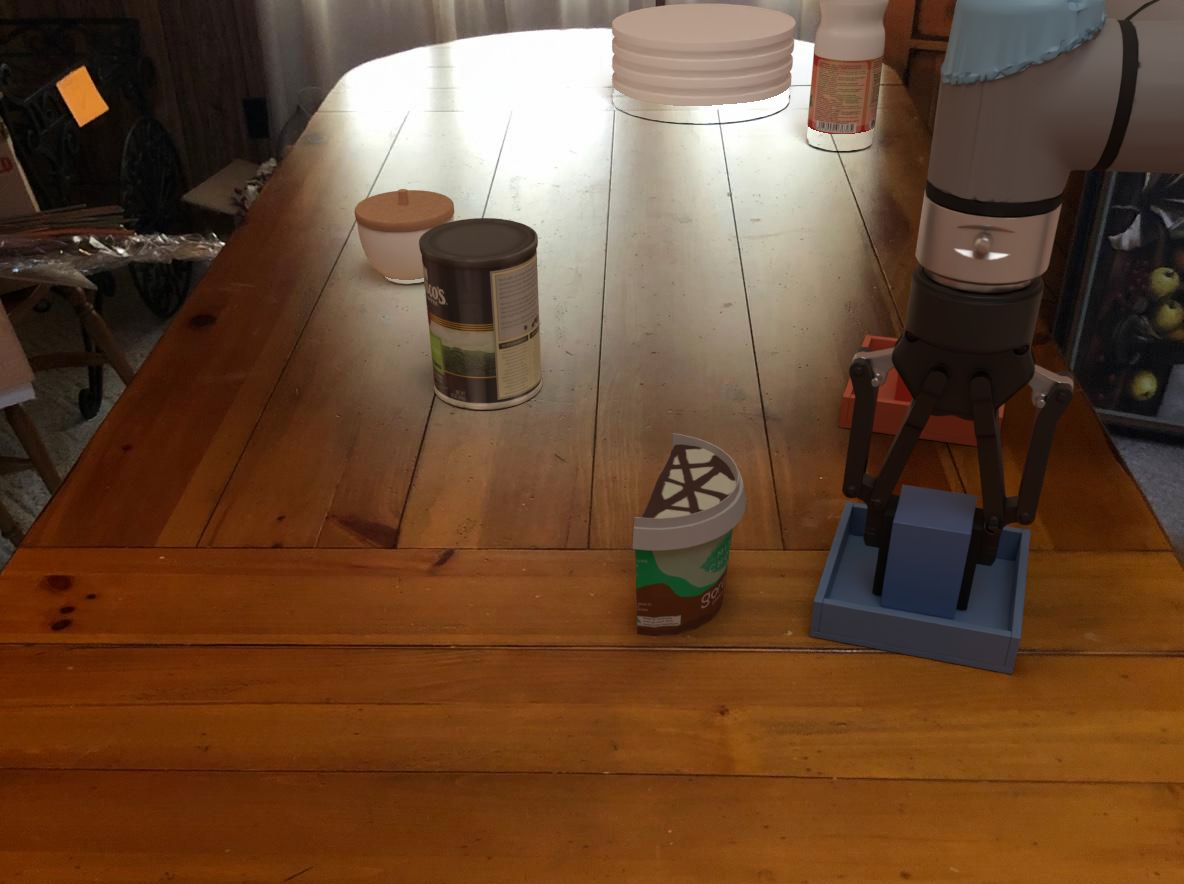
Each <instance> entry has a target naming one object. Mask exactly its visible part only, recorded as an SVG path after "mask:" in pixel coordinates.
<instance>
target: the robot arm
mask: <svg viewBox="0 0 1184 884" xmlns="http://www.w3.org/2000/svg"><path fill="white" fill-rule="evenodd" d="M936 103H937V104H936V111H935V117H934V118H935V119H934V125H933V133H932V140H931V147H930V155H929V163H928V169H927V176H926V178H927V179H926V185H925V189H924V193H923V200H922V208H921V215H920V220H919V227H918V234H917V241H916V248H915V258H916V260H917V262H918V265H917V266H916V267H915V268H914V269H913V270H912V276H911V281H910V288H909V295H908V301H907V308H906V313H905V314H906V316H905V322H904V327H903V332H902V334H901V335H900V336H899V338H897V339H898V340H897V342H896V343H895V346H894V348H889V349H883V350H878V351H872V350H871V349H870V348H868V347H862V346H861V347H858V348H857V349H856V352H855V353H854V356H853V357H852V361H851V363H850V367H849V369H848V373H849V379H850V378H851V382H852V386H853V390H854V394H855V402H854V409H853V417H852V424H851V429H850V431H849V439H848V446H847V452H846V460H845V467H844V475H843V482H842V488H841V489H842V491H841V492H842V494H843V495H844V496H845V498H847V499H859V501H860V500H861V501H862V502H863V503H864V504H866V505H867V517H866V524H865V532H864V538H863V539H864V543H865V546H870V547H876V548H879V551H878V558H877V564H876V571H875V577H874V584H873V590H872V593H875V594H881V595H882V589H883V583H884V577H885V570H886V564H887V557H888V551H889V544H890V538H891V532H892V525H893V520H894V516H895V512H896V509H897V505H898V501H899V497H900V494H899V495H898V494H893V492H894V491H895V489H896V486H897V484H898V482H899V480H900V478H901V476H902V474H903V471H904V470H905V467H906V466H907V463H908V461H909V459H910V457H911V455H912V453H913V451H914V449H915V447H916V445H917V443H918V441H919V439H920V438H919V437H920V434H921V432H922V431H923V430H924V428H925V426H926V424H927V422H928V420H929V418H930V415H933V416H949V415H954V416H956V417H959V418H961V419H964V420H969V421H974V431H975V437H976V441H977V446H976V448H977V449H976V450H977V459H978V470H979V479H980V490H981V498H982V501H981V502H982V507H977V506H976V509H975V515H974V521H973V527H972V533H971V539H970V544H969V548H968V553H967V558H966V563H965V568H964V573H963V578H962V583H961V588H960V593H959V598H958V603H957V608H960V609H966V610H967V607H968V602H969V597H970V592H971V588H972V583H973V578H974V573H975V568H976V564H980V565H986V566H992V564H993V563H994V562H995V560H996V555H997V551H998V546H999V542H1000V537H1001V533H1002V531H1003V528H1004V527H1005V526H1008V525H1010V524H1017V523H1018V524H1019V525H1022V526H1029V525H1032V524H1033V523H1034V522H1035V520H1036V516H1037V511H1038V507H1039V503H1040V498H1041V493H1042V490H1043V486H1044V485H1043V484H1044V481H1045V476H1046V471H1047V466H1048V463H1049V458H1050V454H1051V449H1052V444H1053V440H1054V435H1055V431H1056V426H1057V423H1058V422H1059V420H1060V419H1061V418H1062V416H1063V415H1064V413H1065V412H1066V410H1067V409H1068V407H1069V406H1070V404H1071V403H1072V401H1073V399H1074V386H1075V385H1074V384H1075V381H1074V380H1075V377H1074V375H1073V373H1072V372H1070V371H1067V370H1060V371H1058V372H1057V373H1055V372H1053V371H1051V370H1048V369H1047V368H1044V367H1043V366H1040V365H1038V364H1037V360H1036V356H1035V354H1034V351H1033V340H1034V336H1035V332H1036V331H1035V330H1036V326H1037V321H1038V317H1039V312H1040V308H1041V304H1042V303H1041V302H1042V298H1043V294H1044V289H1045V282H1044V280H1043V277H1042V275H1043V274H1044V273H1045V272H1047V270H1048V268H1049V266H1050V261H1051V256H1052V252H1053V247H1054V242H1055V238H1056V233H1057V229H1058V224H1059V219H1060V214H1061V210H1062V205H1063V201H1064V197H1065V190H1066V185H1067V183H1068V179H1069V176H1070V173H1071V172H1072V171H1088V172H1089V171H1090V172H1124V173H1146V174H1147V173H1148V174H1176V175H1177V174H1178V175H1184V0H956V2H955V6H954V12H953V17H952V22H951V26H950V32H949V37H948V41H947V46H946V51H945V55H944V61H943V63H942V64H941V66H940V81H939V88H938V96H937V102H936ZM892 368H895V369H896V371H897V372H898V374H899V376H900V377H901V379H902V381H903V382H904V384H905V386H906V387H907V389H908V391H909V392H910V394H911V396H912V397H913V398H912V401H911V403H910V406H909V408H908V410H907V412H906V415H905V417H904V419H903V421H902V423H901V425H900V427H899V430H898V432H897V434H896V435H894V438H893V441H892V443H891V445H890V446H889V449H888V451H887V453H886V455H885V458H884V460H883V461H882V464H881V466H880V468H879V471H878V473H877V474H876V476H873V475H871V474H869V473H867V469H868V463H869V456H870V449H871V443H872V438H873V437H872V436H873V432H872V431H873V424H874V418H875V411H876V404H877V398H878V391H879V387H880V386H882V385H883V384H884V383H885V382H886V379H887V376H888V371H889V370H891V369H892ZM1026 386H1029V387H1030V389H1031V395H1030V401H1031V404H1032V405H1033V407H1035V412H1034V417H1033V421H1032V426H1031V432H1030V437H1029V441H1028V446H1027V451H1026V455H1025V459H1024V464H1023V470H1022V475H1021V478H1020V484H1019V488H1018V492H1017V495H1012V496H1007V493H1006V481H1005V470H1004V460H1003V449H1002V440H1001V439H1002V436H1001V429H1000V425H999V408H1000V407H1001V406H1002V405H1003V404H1004V403H1005V404H1006V403H1007V402H1008V401H1009V400H1011V399H1012V398H1013V397H1014V396H1015V395H1016V394H1017V393H1018V392H1020V391H1021V390H1022V389H1023V388H1025V387H1026Z"/></svg>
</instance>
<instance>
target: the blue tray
mask: <svg viewBox="0 0 1184 884" xmlns="http://www.w3.org/2000/svg"><path fill="white" fill-rule="evenodd" d="M866 517H867V505H866V504H865V503H861V502H854V501H845V502H844V505H843V508H842V512H841V515H840V518H839V521H838V524H837V527H836V530H835V533H834V536H833V539H832V542H831V546H830V549H829V551H828V555H827V558H826V561H825V564H824V568H823V571H822V574H821V577H820V580H819V584H818V586H817V589H816V592H815V595H814V598H813V602H812V611H811V621H810V628H809V629H810V630H809V637H812V638H815V639H816V638H817V639H821V640H828V641H832V642H838V643H841V644H842V643H843V644H849V645H852V646H853V645H854V646H859V647H864V648H869V649H875V650H880V651H885V652H891V653H897V654H900V655H901V654H902V655H907V656H911V657H912V656H913V657H917V658H923V659H928V660H934V661H939V662H943V663H949V664H955V665H960V666H965V667H969V668H970V667H971V668H974V669H975V668H976V669H981V670H987V671H991V672H996V673H1002V674H1008V675H1013V673H1014V668H1015V664H1016V660H1017V656H1018V651H1019V649H1020V644H1021V640H1022V632H1023V620H1024V608H1025V598H1026V587H1027V576H1028V567H1029V566H1028V565H1029V557H1030V556H1029V554H1030V553H1029V552H1030V544H1031V535H1032V534H1031V533H1032V530H1031V529H1027V528H1021V527H1016V526H1015V527H1013V526H1008V525H1006V526H1005V527H1004V528H1003V531H1002V533H1001V537H1000V542H999V546H998V551H997V555H996V560H995V562H994V563H993V564H992V566H986V565H980V564H976V568H975V573H974V578H973V583H972V588H971V592H970V597H969V602H968V607H967V610H966V609H960V608H956V613H955V618H954V619H948V618H942V617H937V616H931V615H926V614H920V613H914V612H909V611H903V610H898V609H892V608H886V607H881V606H880V602H881V596H882V595H881V594H875V593H872V590H873V584H874V577H875V571H876V564H877V558H878V551H879V548H876V547H870V546H865V543H864V539H863V538H864V532H865V524H866Z"/></svg>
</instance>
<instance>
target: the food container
mask: <svg viewBox="0 0 1184 884" xmlns="http://www.w3.org/2000/svg"><path fill="white" fill-rule="evenodd" d="M671 447H672V449H671V451H670V456H669V457H668V459H667V461H666V464H665V466H664V468H663V469H662V471H661V472H660V474H659V476H658V478H657V480H656V482H655V485H654V487H653V490H652V493H651V496H650V497H649V501H648V503H647V506H646V507H645V510H644V512H643V514H642V516H634V525H633V526H634V527H633V533H632V550H634V555H635V557H634V560H635V561H634V562H635V595H636V596H635V603H636V605H635V607H636V634H637V635H645V636H665V635H677V634H680V633H685V632H688V631H691V630H694V629H697V628H700V627H701V626H703V625H704V624H706V623H708V622H709V621H712V619H713V618H714V617H715V616H716V615H717V614H718V613H719V611H720V609H721V608H722V605H723V600H724V592H725V585H726V579H727V572H728V566H729V559H730V552H731V547H732V539H733V532H734V528H735V527H736V526H737V525H738V524H739V522H740V521H741V520H742V518H743V516H744V515H745V512H746V507H747V497H746V491H745V486H744V480H743V479H744V478H743V476H742V474H741V472H740V470H739V467H738V465H737V463H736V462H735V460H734V459H733V457H732V456H731V455H730V454H729V453H727V452H726V451H725V450H723V449H722V448H720V447H719V446H717V445H716V444H713V443H711V442H709V441H707V440H704V439H701V438H698V437H696V436H690V435H685V434H681V433H677V432H676V433H675V432H673V433H672V446H671Z"/></svg>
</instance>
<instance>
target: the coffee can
mask: <svg viewBox="0 0 1184 884" xmlns="http://www.w3.org/2000/svg"><path fill="white" fill-rule="evenodd" d="M538 245H539V236H538V233H537V231H536V230H535V229H533V228H532V227H531V226H528V225H527V224H524V223H522V222H519V221H514V220H510V219H504V218H496V217H477V218H475V217H474V218H466V219H457V220H454V221H453V222H448V223H445V224H442V225H439V226H436V227H434V228H432V229H430V230H428V231H427V232H425V233H424V234H423V235H422V236H421V238H420V240H419V247H420V252H421V254H422V263H423V274H424V283H423V284H424V291H425V303H426V313H427V321H428V331H429V342H430V351H431V353H430V354H431V362H432V373H433V391H434V393H435V395H436V396H437V397H438V398H439V399H440V400H441V401H443V402H445V403H446V404H448V405H450V406H454V407H457V408H460V409H466V410H474V411H493V410H501V409H502V410H503V409H507V408H511V407H512V408H513V407H515V406H518V405H520V404H524V403H526V402H527V401H529V400H531V399H533V398H534V397H536V396H537V394H538V393H539V392H540V391H541V389H542V387H543V383H544V381H543V377H542V375H543V374H542V352H541V329H540V303H539V301H540V300H539V276H538V275H539V274H538V273H539V272H538V249H537V248H538Z"/></svg>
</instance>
